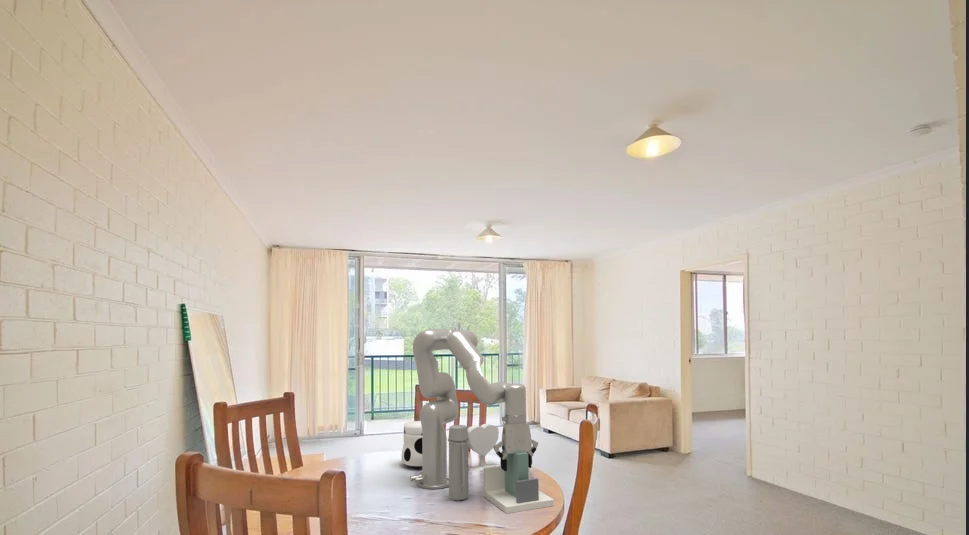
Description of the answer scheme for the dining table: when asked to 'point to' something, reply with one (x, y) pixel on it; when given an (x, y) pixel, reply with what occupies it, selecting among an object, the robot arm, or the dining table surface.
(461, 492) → the water bottle
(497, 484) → the shelf
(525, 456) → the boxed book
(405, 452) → the milk container
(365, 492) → the dining table surface
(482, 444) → the heart sculpture
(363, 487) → the dining table surface
